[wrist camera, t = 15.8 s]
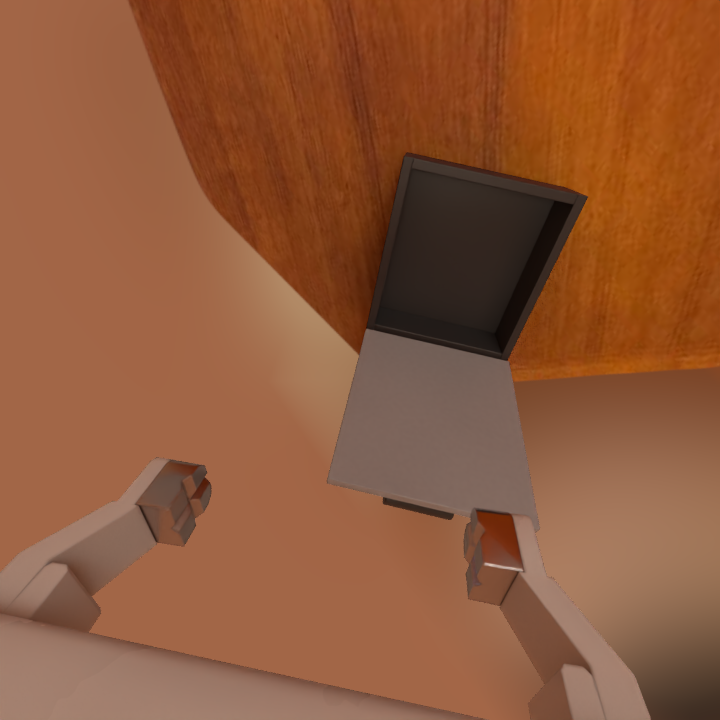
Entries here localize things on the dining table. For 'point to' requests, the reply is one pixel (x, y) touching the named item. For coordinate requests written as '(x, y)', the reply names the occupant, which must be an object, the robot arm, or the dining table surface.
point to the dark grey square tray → (468, 254)
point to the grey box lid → (433, 431)
